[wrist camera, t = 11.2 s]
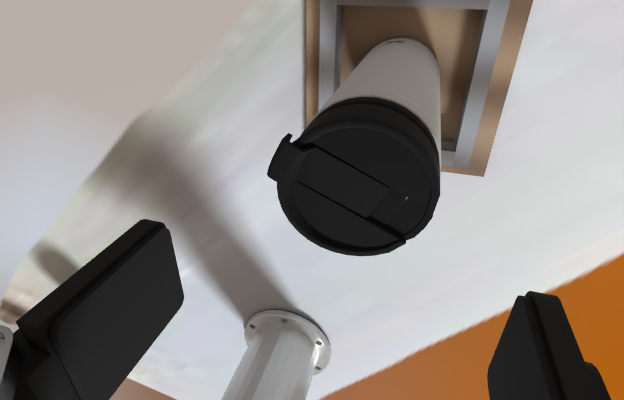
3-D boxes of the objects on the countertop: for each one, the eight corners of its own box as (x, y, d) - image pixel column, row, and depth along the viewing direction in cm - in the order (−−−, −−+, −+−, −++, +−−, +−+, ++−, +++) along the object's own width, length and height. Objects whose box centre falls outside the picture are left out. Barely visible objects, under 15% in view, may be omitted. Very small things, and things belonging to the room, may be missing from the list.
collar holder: (482, 170, 33) (486, 190, 30) (309, 149, 37) (298, 164, 34) (541, -44, 25) (555, -46, 22) (310, -45, 29) (295, -46, 26)
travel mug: (382, 17, 28) (306, 80, 12) (457, 62, 28) (483, 186, 12) (343, 89, 32) (242, 214, 15) (409, 129, 32) (379, 294, 16)
